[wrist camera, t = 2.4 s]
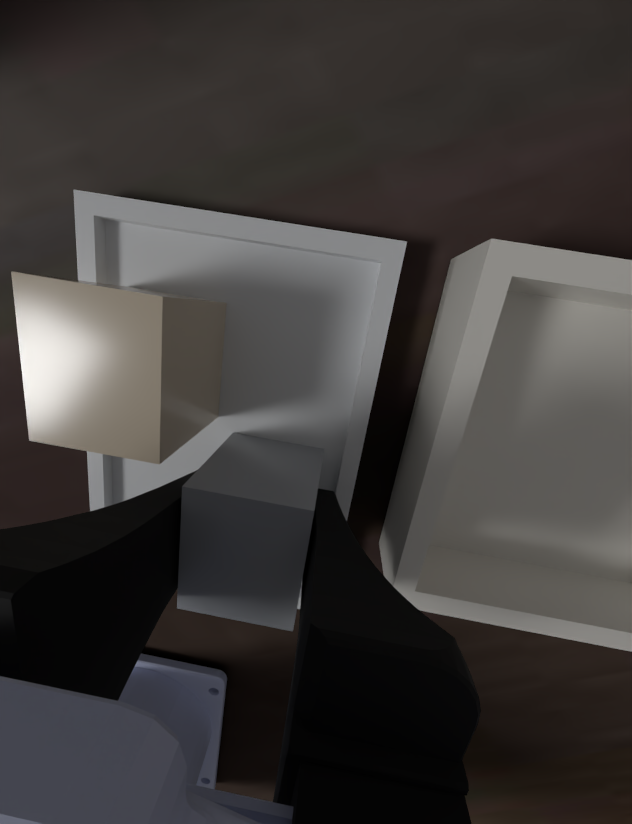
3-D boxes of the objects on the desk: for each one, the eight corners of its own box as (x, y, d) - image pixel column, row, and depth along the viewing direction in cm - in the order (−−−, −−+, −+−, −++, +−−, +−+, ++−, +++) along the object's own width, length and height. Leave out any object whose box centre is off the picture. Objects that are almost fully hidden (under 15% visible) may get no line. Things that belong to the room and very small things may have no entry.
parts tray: (328, 594, 15) (326, 614, 14) (109, 551, 15) (93, 568, 14) (401, 248, 10) (406, 241, 9) (97, 200, 11) (73, 189, 10)
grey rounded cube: (308, 539, 13) (292, 631, 9) (224, 524, 13) (176, 608, 10) (323, 448, 12) (314, 511, 8) (233, 432, 12) (181, 486, 8)
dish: (646, 593, 13) (731, 670, 10) (379, 542, 14) (388, 604, 11) (805, 315, 10) (990, 314, 7) (450, 259, 10) (491, 238, 8)
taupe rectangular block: (218, 416, 12) (159, 464, 8) (128, 401, 12) (29, 440, 8) (226, 302, 11) (163, 296, 7) (127, 286, 11) (10, 271, 7)
